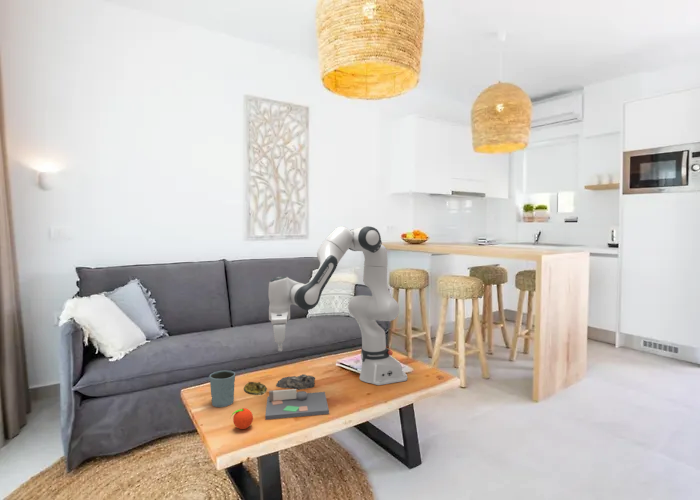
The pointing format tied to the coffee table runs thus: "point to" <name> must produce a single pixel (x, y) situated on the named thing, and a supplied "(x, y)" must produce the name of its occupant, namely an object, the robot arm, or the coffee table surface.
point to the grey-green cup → (222, 388)
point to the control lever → (287, 395)
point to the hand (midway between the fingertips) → (280, 347)
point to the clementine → (242, 418)
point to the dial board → (297, 407)
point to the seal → (255, 388)
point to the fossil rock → (297, 382)
